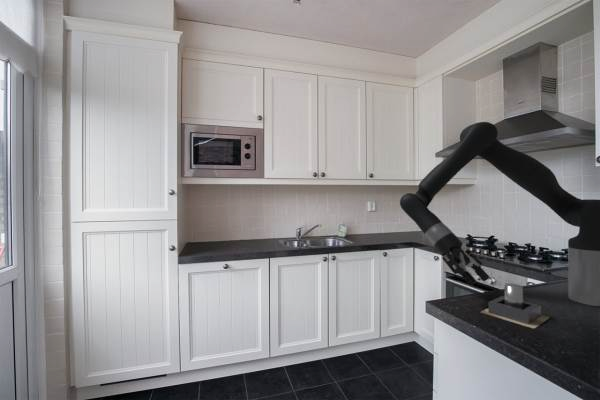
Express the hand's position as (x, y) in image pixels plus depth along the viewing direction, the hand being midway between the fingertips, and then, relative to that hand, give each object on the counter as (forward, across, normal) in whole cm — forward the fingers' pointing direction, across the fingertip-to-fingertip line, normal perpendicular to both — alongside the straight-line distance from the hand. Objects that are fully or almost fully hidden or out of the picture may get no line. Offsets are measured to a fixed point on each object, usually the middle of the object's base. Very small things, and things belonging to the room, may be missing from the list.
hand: (480, 281), depth 82 cm
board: (+12, 0, 0) cm, 12 cm away
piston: (+11, 0, -1) cm, 11 cm away
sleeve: (+11, 0, -1) cm, 11 cm away
